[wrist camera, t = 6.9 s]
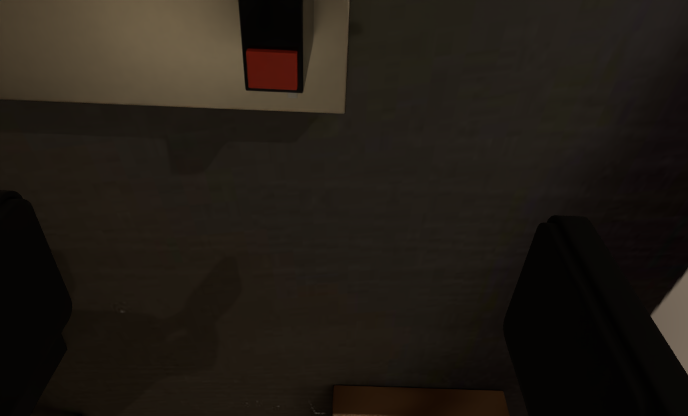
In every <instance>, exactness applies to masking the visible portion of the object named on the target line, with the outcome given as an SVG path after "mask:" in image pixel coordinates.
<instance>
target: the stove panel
mask: <svg viewBox="0 0 688 416" xmlns="http://www.w3.org/2000/svg"><path fill="white" fill-rule="evenodd" d="M349 20H350V0H314V41H313V46H312V51H311V56H310V61H309V66H308V71H307V76H306V81H305V86H304V91H303V93H284V92H263V91H246V89H245V80H244V68H243V56H242V43H241V31H240V18H239V6H238V0H0V100H18V101H43V102H67V103H92V104H117V105H142V106H167V107H191V108H216V109H241V110H266V111H291V112H315V113H340V114H344V113H345V112H346V90H347V66H348V43H349Z"/></svg>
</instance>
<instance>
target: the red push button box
mask: <svg viewBox="0 0 688 416" xmlns="http://www.w3.org/2000/svg"><path fill="white" fill-rule="evenodd" d="M332 416H510V415H509V412H508V408H507V405H506V401H505V397H504V394H503V391H494V390H464V389H434V388H404V387H374V386H345V385H334V386H333V407H332Z"/></svg>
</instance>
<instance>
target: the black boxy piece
mask: <svg viewBox="0 0 688 416" xmlns="http://www.w3.org/2000/svg"><path fill="white" fill-rule="evenodd" d="M238 6H239V18H240V31H241V43H242V56H243V68H244V80H245V89H246V91H263V92H284V93H303V91H304V86H305V81H306V76H307V71H308V66H309V61H310V56H311V51H312V46H313V41H314V0H238Z"/></svg>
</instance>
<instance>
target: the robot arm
mask: <svg viewBox="0 0 688 416" xmlns="http://www.w3.org/2000/svg"><path fill="white" fill-rule="evenodd" d="M71 312H72V302H71V298H70V296H69V294H68V291H67V289H66V286H65V284H64V282H63V279H62V277H61V274H60V272H59V270H58V267H57V265H56V262H55V260H54V258H53V255H52V253H51V250H50V248H49V245H48V243H47V241H46V238H45V236H44V233H43V231H42V229H41V226H40V224H39V221H38V219H37V217H36V214H35V212H34V209H33V207H32V205H31V203H30V202H29V201H27V200H25V199H23V198H22V196H21V195H20V194H19V193H17V192H15V191H6V190H0V416H11V415H12V413H13V412H14V410H15V408H16V407H17V405H18V403H19V402H20V400H21V398H22V397H23V395H24V393H25V392H26V390H27V388H28V387H29V385H30V383H31V382H32V380H33V378H34V377H35V375H36V373H37V372H38V370H39V368H40V367H41V365H42V363H43V362H44V360H45V358H46V357H47V355H48V353H49V352H50V350H51V348H52V347H53V345H54V344H55V342H56V340H57V339H58V337H59V335H60V334H61V332H62V330H63V329H64V327H65V325H66V324H67V322H68V320H69V318H70V316H71ZM503 330H504V337H505V340H506V344H507V347H508V350H509V353H510V357H511V360H512V363H513V366H514V369H515V373H516V376H517V379H518V382H519V385H520V389H521V392H522V395H523V398H524V402H525V405H526V408H527V411H528V414H529V416H688V375H687V373H686V371H685V370H684V368H683V367H682V365H681V364H680V362H679V360H678V359H677V358H676V356H675V354H674V353H673V351H672V349H671V348H670V346H669V345H668V343H667V342H666V340H665V338H664V337H663V336H662V334H661V332H660V331H659V329H658V327H657V326H656V324H655V323H654V321H653V320H652V318H651V316H650V315H649V313H648V312H647V310H646V309H645V307H644V305H643V304H642V302H641V301H640V299H639V298H638V296H637V294H636V293H635V291H634V290H633V288H632V287H631V285H630V283H629V282H628V280H627V279H626V277H625V276H624V274H623V272H622V271H621V269H620V268H619V266H618V265H617V263H616V261H615V260H614V258H613V257H612V255H611V254H610V252H609V250H608V249H607V247H606V246H605V244H604V243H603V241H602V239H601V238H600V236H599V235H598V233H597V232H596V230H595V228H594V227H593V225H592V224H591V222H590V221H589V220H588V219H587V218H586V217H580V216H558V215H554V216H551V217H550V218H549V219H548V221H547V223H540V224H539V226H538V228H537V230H536V233H535V235H534V238H533V241H532V244H531V246H530V249H529V252H528V255H527V257H526V260H525V263H524V266H523V269H522V271H521V274H520V277H519V280H518V282H517V285H516V288H515V291H514V293H513V296H512V299H511V302H510V305H509V307H508V310H507V313H506V316H505V319H504V325H503Z"/></svg>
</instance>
